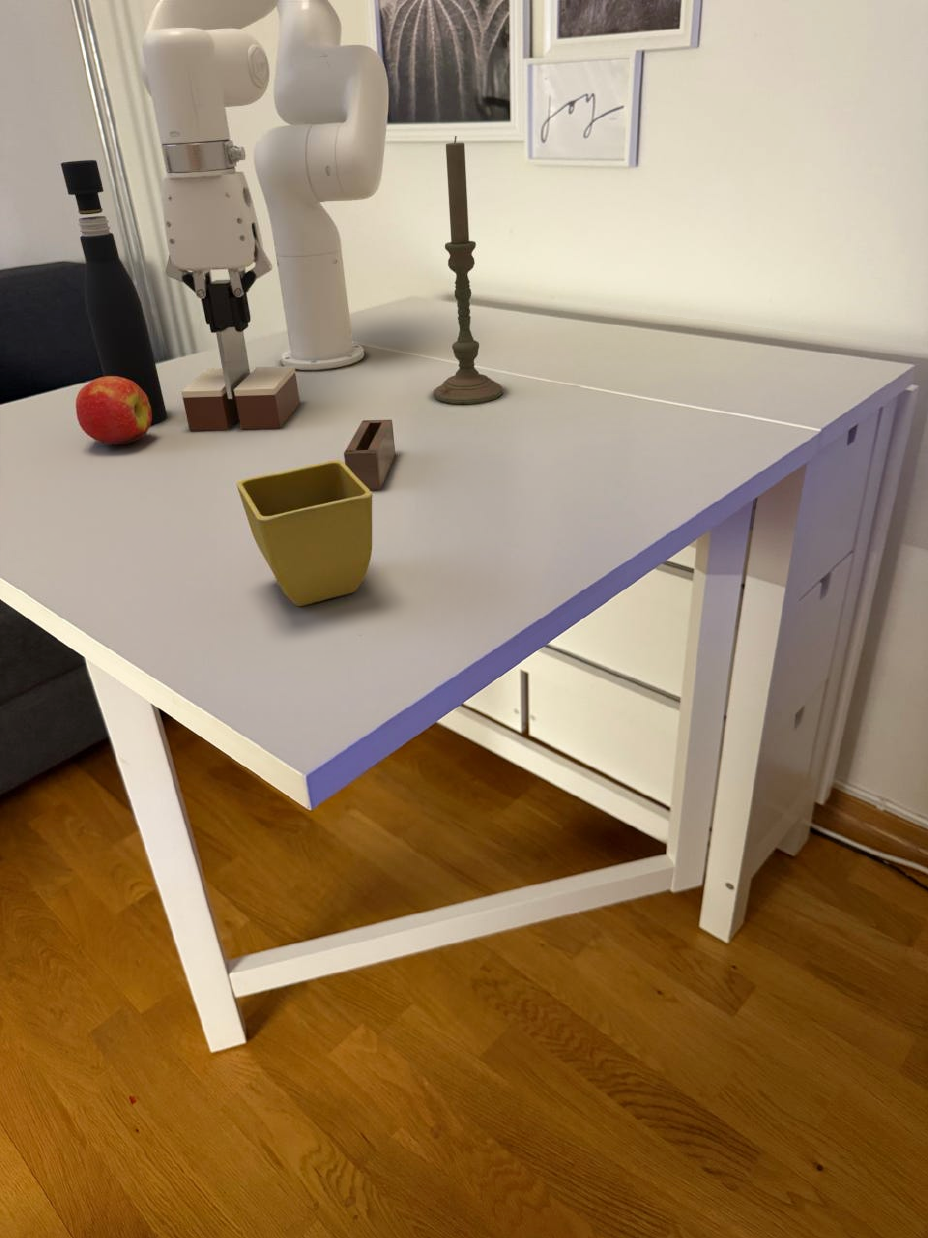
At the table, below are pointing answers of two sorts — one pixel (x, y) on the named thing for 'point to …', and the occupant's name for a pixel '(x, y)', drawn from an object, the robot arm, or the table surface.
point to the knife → (228, 336)
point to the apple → (113, 410)
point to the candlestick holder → (462, 293)
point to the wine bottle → (112, 293)
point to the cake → (209, 403)
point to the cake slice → (267, 397)
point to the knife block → (371, 452)
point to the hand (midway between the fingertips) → (229, 328)
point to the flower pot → (311, 528)
